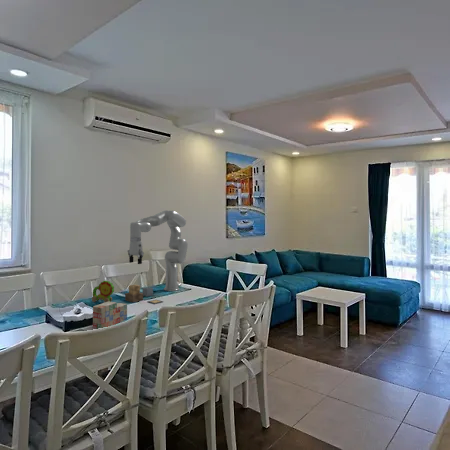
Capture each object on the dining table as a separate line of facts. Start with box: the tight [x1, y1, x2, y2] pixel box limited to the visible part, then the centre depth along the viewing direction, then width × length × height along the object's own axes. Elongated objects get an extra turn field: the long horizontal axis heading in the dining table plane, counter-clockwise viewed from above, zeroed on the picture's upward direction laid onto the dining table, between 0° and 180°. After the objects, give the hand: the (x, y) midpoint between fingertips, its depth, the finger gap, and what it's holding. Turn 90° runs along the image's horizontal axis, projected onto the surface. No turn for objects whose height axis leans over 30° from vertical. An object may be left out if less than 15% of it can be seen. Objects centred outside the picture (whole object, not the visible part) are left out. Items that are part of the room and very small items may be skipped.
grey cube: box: [142, 286, 154, 297], centre depth 274 cm, size 6×6×6 cm
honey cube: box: [128, 284, 141, 295], centre depth 259 cm, size 6×6×6 cm
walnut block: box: [124, 292, 144, 303], centre depth 259 cm, size 9×9×5 cm
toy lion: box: [91, 280, 115, 303], centre depth 252 cm, size 16×5×15 cm, turn 74°
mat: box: [147, 299, 164, 305], centre depth 255 cm, size 8×8×1 cm
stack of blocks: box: [92, 301, 128, 329], centre depth 205 cm, size 21×6×12 cm, turn 156°
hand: (135, 263), depth 260 cm, fingers open, 9 cm apart
